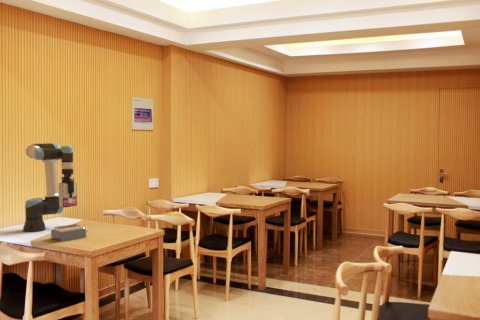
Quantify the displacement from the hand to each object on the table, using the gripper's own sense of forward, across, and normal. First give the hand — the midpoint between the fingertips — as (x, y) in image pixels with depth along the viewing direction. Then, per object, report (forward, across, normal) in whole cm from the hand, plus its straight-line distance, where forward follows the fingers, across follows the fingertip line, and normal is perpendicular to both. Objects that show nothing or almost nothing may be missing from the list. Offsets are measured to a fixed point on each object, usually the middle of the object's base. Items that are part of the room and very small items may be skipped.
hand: (68, 202), depth 312 cm
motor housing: (+25, 0, +3) cm, 25 cm away
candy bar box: (+3, 0, 0) cm, 3 cm away
